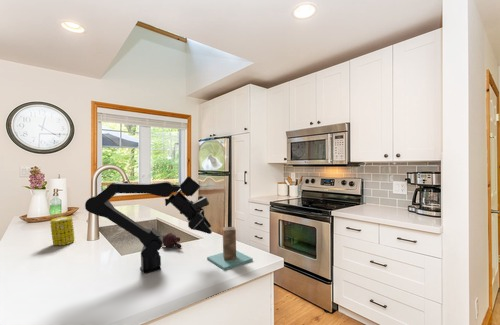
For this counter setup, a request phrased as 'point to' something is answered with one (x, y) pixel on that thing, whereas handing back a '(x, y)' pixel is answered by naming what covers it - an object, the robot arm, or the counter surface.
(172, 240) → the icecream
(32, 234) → the counter surface
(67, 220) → the food
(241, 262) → the teal board
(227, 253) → the walnut pillar
